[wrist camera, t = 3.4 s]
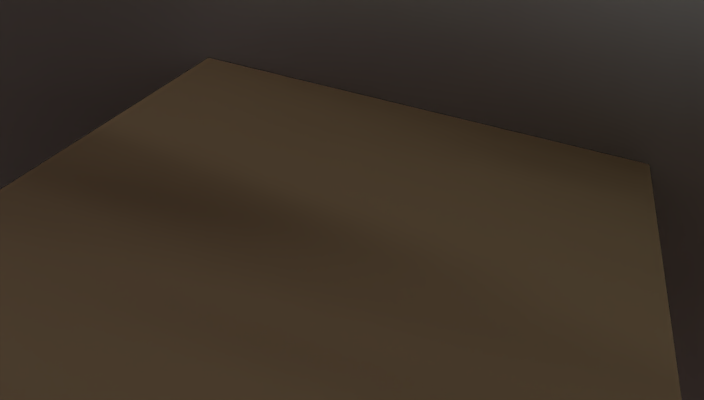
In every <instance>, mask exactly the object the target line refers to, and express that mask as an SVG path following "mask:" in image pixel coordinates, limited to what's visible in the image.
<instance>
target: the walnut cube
mask: <svg viewBox="0 0 704 400" xmlns="http://www.w3.org/2000/svg"><path fill="white" fill-rule="evenodd" d="M0 400H682V398H681V390H680V383H679V376H678V369H677V361H676V354H675V347H674V340H673V332H672V325H671V318H670V310H669V303H668V296H667V289H666V281H665V274H664V267H663V260H662V252H661V245H660V238H659V231H658V223H657V216H656V209H655V202H654V194H653V187H652V180H651V173H650V165H649V164H646V163H642V162H638V161H634V160H630V159H625V158H621V157H617V156H613V155H609V154H605V153H601V152H596V151H592V150H588V149H584V148H580V147H576V146H572V145H567V144H563V143H559V142H555V141H551V140H547V139H543V138H539V137H534V136H530V135H526V134H522V133H518V132H514V131H510V130H505V129H501V128H497V127H493V126H489V125H485V124H481V123H476V122H472V121H468V120H464V119H460V118H456V117H452V116H448V115H443V114H439V113H435V112H431V111H427V110H423V109H419V108H414V107H410V106H406V105H402V104H398V103H394V102H390V101H385V100H381V99H377V98H373V97H369V96H365V95H361V94H357V93H352V92H348V91H344V90H340V89H336V88H332V87H328V86H323V85H319V84H315V83H311V82H307V81H303V80H299V79H294V78H290V77H286V76H282V75H278V74H274V73H270V72H266V71H261V70H257V69H253V68H249V67H245V66H241V65H237V64H232V63H228V62H224V61H220V60H216V59H212V58H207V59H206V60H204V61H202V62H201V63H199V64H198V65H196V66H195V67H193V68H191V69H190V70H188V71H187V72H185V73H184V74H182V75H180V76H179V77H177V78H176V79H174V80H172V81H171V82H169V83H168V84H166V85H165V86H163V87H161V88H160V89H158V90H157V91H155V92H154V93H152V94H150V95H149V96H147V97H146V98H144V99H143V100H141V101H139V102H138V103H136V104H135V105H133V106H131V107H130V108H128V109H127V110H125V111H124V112H122V113H120V114H119V115H117V116H116V117H114V118H113V119H111V120H109V121H108V122H106V123H105V124H103V125H101V126H100V127H98V128H97V129H95V130H94V131H92V132H90V133H89V134H87V135H86V136H84V137H83V138H81V139H79V140H78V141H76V142H75V143H73V144H71V145H70V146H68V147H67V148H65V149H64V150H62V151H60V152H59V153H57V154H56V155H54V156H53V157H51V158H49V159H48V160H46V161H45V162H43V163H41V164H40V165H38V166H37V167H35V168H34V169H32V170H30V171H29V172H27V173H26V174H24V175H23V176H21V177H19V178H18V179H16V180H15V181H13V182H11V183H10V184H8V185H7V186H5V187H4V188H2V189H0Z"/></svg>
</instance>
